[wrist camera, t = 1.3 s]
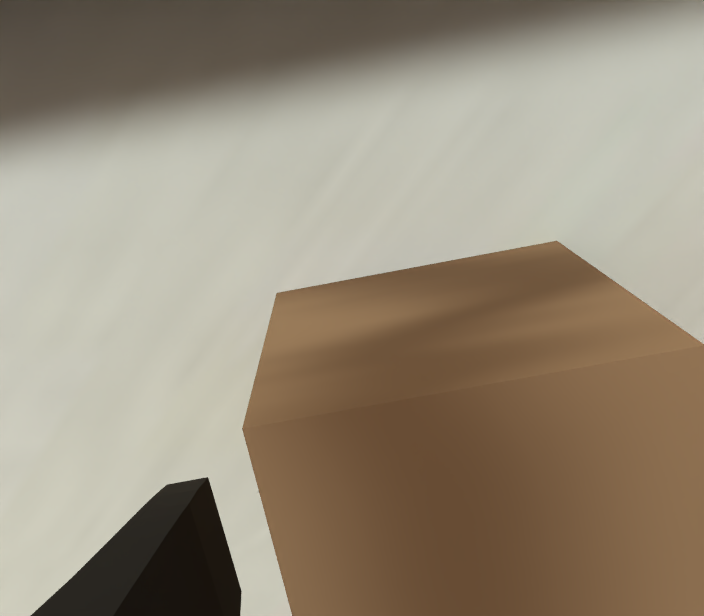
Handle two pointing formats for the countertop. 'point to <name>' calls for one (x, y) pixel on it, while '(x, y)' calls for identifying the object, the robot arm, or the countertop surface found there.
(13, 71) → the countertop surface
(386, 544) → the walnut cube
